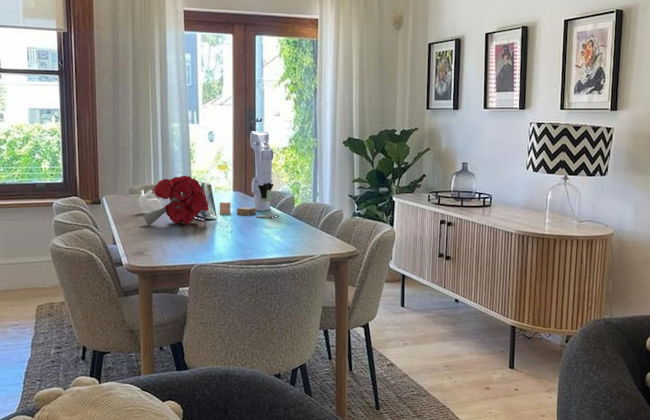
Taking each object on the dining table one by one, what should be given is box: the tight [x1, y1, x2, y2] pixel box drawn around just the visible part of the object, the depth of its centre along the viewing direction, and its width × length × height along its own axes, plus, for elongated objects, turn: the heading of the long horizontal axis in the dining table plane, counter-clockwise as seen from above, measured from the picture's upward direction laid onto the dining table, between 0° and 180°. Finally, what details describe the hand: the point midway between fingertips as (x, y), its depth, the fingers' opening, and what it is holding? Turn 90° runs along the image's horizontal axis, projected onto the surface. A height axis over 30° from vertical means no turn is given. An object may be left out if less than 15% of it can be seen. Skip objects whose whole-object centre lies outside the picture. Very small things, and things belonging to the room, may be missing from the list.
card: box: [255, 213, 280, 219], centre depth 332 cm, size 10×8×1 cm
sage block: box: [260, 189, 272, 202], centre depth 340 cm, size 4×4×6 cm
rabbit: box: [138, 189, 164, 215], centre depth 333 cm, size 12×9×12 cm
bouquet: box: [142, 175, 209, 226], centre depth 298 cm, size 22×24×30 cm
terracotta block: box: [219, 201, 232, 215], centre depth 339 cm, size 4×4×6 cm
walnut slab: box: [236, 206, 257, 216], centre depth 339 cm, size 7×7×4 cm
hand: (265, 197), depth 340 cm, fingers closed on sage block, 4 cm apart
